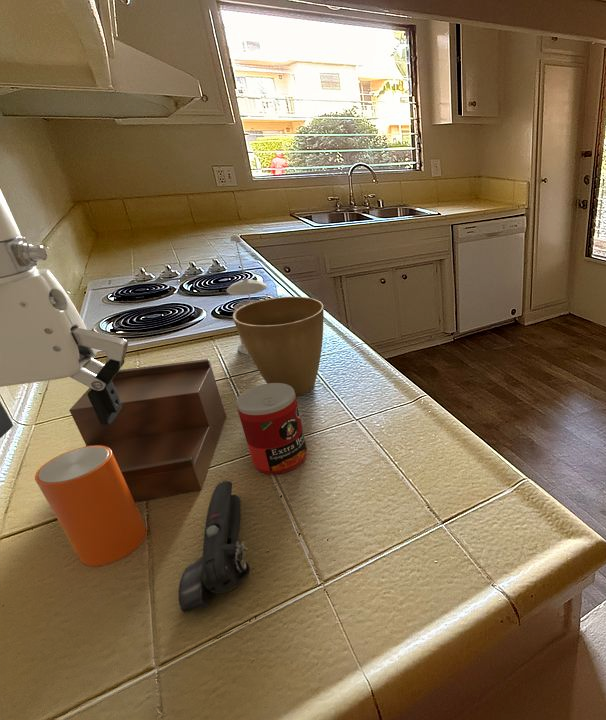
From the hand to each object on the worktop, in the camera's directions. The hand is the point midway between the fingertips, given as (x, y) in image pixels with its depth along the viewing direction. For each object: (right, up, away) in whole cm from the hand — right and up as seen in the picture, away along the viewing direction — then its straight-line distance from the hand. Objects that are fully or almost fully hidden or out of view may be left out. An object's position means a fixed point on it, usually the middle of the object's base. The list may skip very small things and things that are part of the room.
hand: (57, 426), depth 48 cm
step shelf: (-5, -8, +22) cm, 24 cm away
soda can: (0, -15, +8) cm, 17 cm away
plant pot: (+8, +1, +41) cm, 42 cm away
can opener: (+14, -16, +7) cm, 22 cm away
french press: (-6, +10, +59) cm, 60 cm away
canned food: (+14, -8, +22) cm, 27 cm away
